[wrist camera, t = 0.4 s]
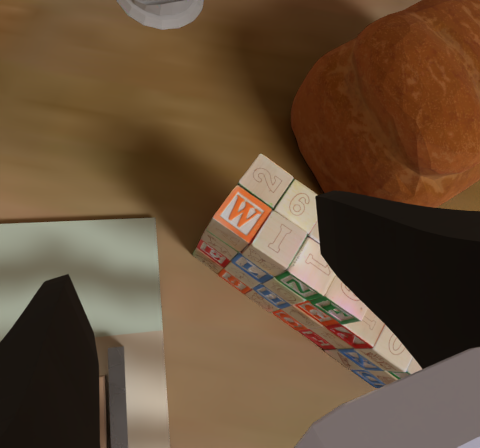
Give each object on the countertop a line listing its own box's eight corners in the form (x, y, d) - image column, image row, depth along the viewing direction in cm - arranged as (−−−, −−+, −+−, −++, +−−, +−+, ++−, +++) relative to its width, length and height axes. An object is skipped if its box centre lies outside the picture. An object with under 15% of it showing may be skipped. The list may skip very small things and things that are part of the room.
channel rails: (131, 526, 33) (131, 536, 31) (20, 550, 31) (13, 562, 29) (124, 346, 36) (123, 346, 34) (23, 358, 34) (17, 358, 32)
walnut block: (108, 471, 33) (106, 485, 30) (43, 483, 32) (31, 499, 28) (105, 374, 35) (102, 376, 31) (44, 382, 34) (33, 385, 30)
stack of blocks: (402, 332, 43) (499, 324, 32) (374, 389, 41) (469, 402, 29) (226, 204, 43) (261, 149, 31) (189, 255, 40) (211, 215, 29)
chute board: (173, 513, 34) (174, 517, 33) (-27, 556, 31) (-31, 561, 30) (154, 220, 40) (155, 217, 40) (-14, 227, 37) (-17, 224, 36)
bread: (268, 108, 47) (337, -16, 31) (412, 52, 54) (527, -72, 38) (352, 251, 44) (473, 194, 29) (491, 173, 51) (649, 92, 36)
